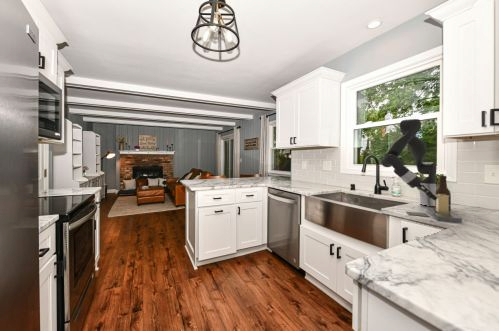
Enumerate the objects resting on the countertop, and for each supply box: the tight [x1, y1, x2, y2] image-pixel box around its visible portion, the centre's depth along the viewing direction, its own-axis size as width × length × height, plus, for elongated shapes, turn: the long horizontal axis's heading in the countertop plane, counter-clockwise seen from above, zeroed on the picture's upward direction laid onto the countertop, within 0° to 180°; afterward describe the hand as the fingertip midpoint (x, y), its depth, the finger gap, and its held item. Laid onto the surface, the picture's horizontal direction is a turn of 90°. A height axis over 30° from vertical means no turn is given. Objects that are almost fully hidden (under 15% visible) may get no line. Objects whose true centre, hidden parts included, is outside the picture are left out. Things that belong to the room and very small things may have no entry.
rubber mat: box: [406, 211, 430, 218], centre depth 135 cm, size 10×10×1 cm
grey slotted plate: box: [425, 207, 463, 224], centre depth 129 cm, size 26×10×2 cm, turn 151°
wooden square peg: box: [436, 194, 449, 214], centre depth 129 cm, size 5×5×14 cm
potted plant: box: [434, 175, 452, 212], centre depth 144 cm, size 8×8×24 cm
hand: (434, 198), depth 131 cm, fingers open, 8 cm apart
